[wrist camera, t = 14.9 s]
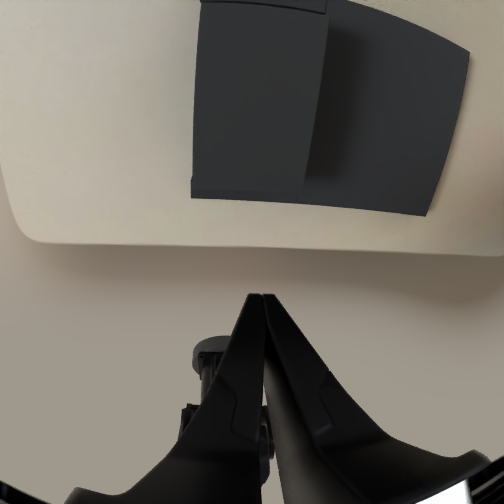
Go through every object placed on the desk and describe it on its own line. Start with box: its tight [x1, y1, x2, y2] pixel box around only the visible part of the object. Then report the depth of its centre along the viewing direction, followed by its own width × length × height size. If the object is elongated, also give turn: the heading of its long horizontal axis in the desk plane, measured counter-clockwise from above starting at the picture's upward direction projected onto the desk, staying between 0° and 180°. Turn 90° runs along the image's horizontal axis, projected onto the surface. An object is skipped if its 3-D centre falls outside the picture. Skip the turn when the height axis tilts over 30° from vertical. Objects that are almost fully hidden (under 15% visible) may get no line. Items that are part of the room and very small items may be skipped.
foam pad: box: [193, 3, 330, 195], centre depth 14 cm, size 10×6×4 cm, turn 175°
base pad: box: [191, 0, 470, 217], centre depth 16 cm, size 14×18×1 cm
